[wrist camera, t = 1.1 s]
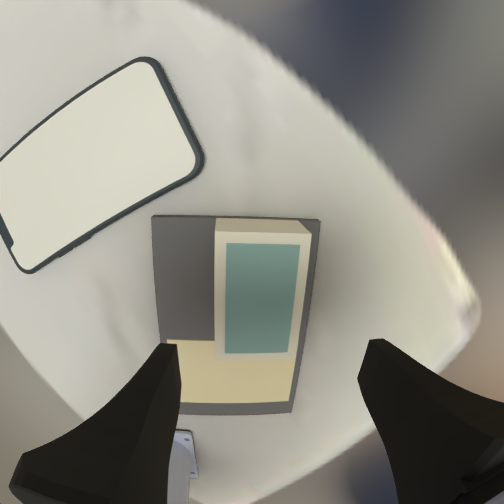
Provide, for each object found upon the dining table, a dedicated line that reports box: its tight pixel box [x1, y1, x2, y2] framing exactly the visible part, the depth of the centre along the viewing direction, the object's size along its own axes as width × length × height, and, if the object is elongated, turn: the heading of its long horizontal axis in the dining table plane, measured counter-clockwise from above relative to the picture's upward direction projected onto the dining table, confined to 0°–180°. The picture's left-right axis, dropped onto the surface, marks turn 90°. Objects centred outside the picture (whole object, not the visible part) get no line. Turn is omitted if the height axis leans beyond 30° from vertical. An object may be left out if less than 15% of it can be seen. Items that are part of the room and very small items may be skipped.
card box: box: [214, 218, 312, 360], centre depth 18 cm, size 8×5×3 cm, turn 177°
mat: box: [151, 215, 321, 415], centre depth 21 cm, size 17×10×1 cm, turn 177°
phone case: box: [0, 57, 204, 274], centre depth 17 cm, size 9×2×16 cm
